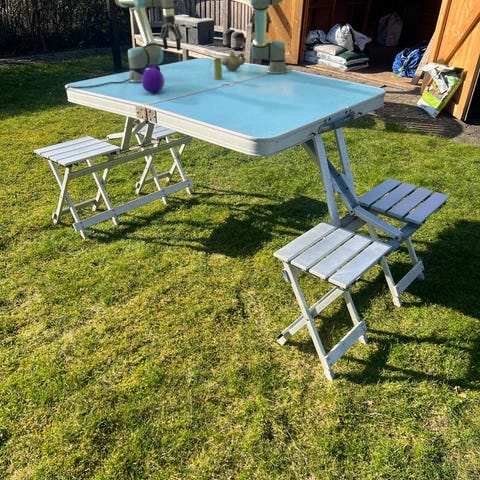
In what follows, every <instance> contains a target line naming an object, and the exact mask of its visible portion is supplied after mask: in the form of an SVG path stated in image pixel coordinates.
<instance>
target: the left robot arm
mask: <svg viewBox="0 0 480 480" xmlns="http://www.w3.org/2000/svg"><path fill="white" fill-rule="evenodd" d="M114 2H115V4H116V5H117V6H118V7H120V8H123V9H124V8H125V9H126V8H127V9H128V8H129V9H130V11H131V13H133V15H134V18H135V21H136V22H135V23H136V24H137V28H138V31H139V34H140V38H141V40H142V44H143V45H142V46H135V47H131V48H129V49H127V57H128V66H129V76H128V79H125V80H123V81H109V82H104V83H100V84H95V85H87V86H86V85H85V86H71V85H70V86H67V87H66V88H65V91H67V90H68V89H70V87H71V88H72V89H84V88H86V89H87V88H95V87H100V86H104V85H105V86H106V85H108V84H109V85H110V84H123V83H126V82H129V83H133V84H142V76H143V75H141V74H139V73H137V72H135V71H134V70H147V67H146V66H153V65H159V64H161V63H162V62H163V60H164V50H168V49H169V47H168V39H167V37H168V34H169V32H172V34H173V36H174V38H175V45H176V51H181V50H182V49H181V45H182V44H181V43H182V42H181V40H183V36H182V33H181V31H180V28H179V24H178V23H175V22H176V16H175V6H174V5H175V4H174V0H114ZM147 7H148V8H149V7H161V8H162V16H163V23H161V30H160V37H159V38H160V39H162V44H163V48H162V46H159V44H158V42H156V41H155V38H154V35H153V32H152V27H151V25H150V22H149V18H148V15H147V11H146V9H147Z"/></svg>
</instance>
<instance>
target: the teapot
mask: <svg viewBox="0 0 480 480" xmlns="http://www.w3.org/2000/svg"><path fill="white" fill-rule="evenodd" d="M240 58H241V60H240ZM245 62H246V59H245V54H244V53H243V52H239V54H237V55H236V54H235V53H234V51H233V50H232V51H230V53H229V55H228V57H224V58H222V59H221V66H225V68H226V70H227V71H229V72H235V71H237V70H239V68H240V67H241V66H243V65H244V64H245Z"/></svg>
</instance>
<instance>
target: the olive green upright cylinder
mask: <svg viewBox="0 0 480 480" xmlns="http://www.w3.org/2000/svg"><path fill="white" fill-rule="evenodd" d="M213 61H214V62H213V64H214V80H222V79H223V69H222V66H223V65H222V58H221V57H217V58H213Z"/></svg>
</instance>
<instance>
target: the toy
mask: <svg viewBox="0 0 480 480" xmlns="http://www.w3.org/2000/svg"><path fill="white" fill-rule="evenodd" d="M134 71H135V72H137V73H139V74H141V75H143V76H142V83H141V85H142V87H143V89H144V90H145V91H146V92H147V93H151V94H157V93H159V92H160V91H161V90H162V89H163V87H164V86H165V78H164V75H163V72H161V67H160V66H159V64H153V65H149V67H148V68H146V70H134Z"/></svg>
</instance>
